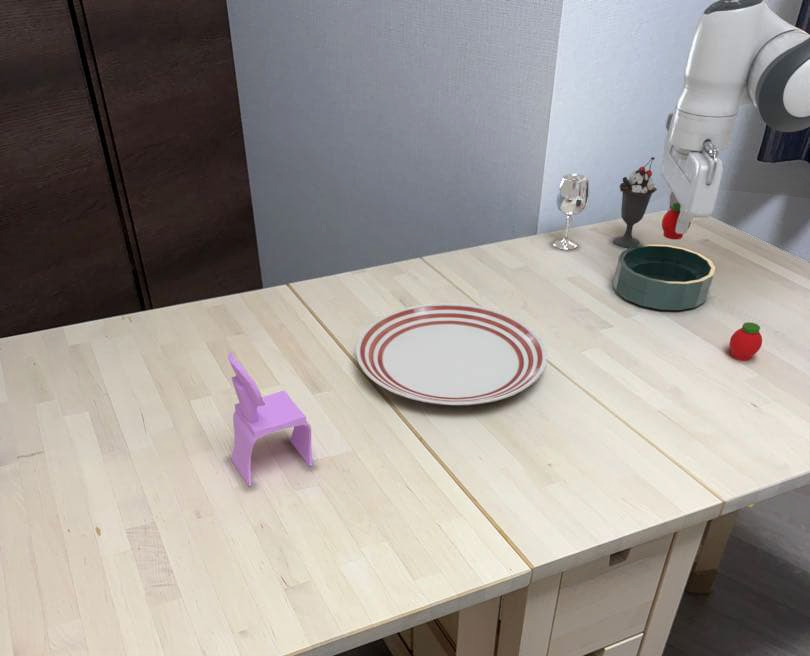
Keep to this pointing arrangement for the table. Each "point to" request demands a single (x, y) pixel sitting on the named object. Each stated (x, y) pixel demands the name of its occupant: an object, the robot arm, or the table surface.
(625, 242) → the sundae
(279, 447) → the table surface
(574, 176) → the wineglass
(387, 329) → the dinner plate
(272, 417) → the toy chair
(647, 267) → the bowl
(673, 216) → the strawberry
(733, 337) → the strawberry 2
